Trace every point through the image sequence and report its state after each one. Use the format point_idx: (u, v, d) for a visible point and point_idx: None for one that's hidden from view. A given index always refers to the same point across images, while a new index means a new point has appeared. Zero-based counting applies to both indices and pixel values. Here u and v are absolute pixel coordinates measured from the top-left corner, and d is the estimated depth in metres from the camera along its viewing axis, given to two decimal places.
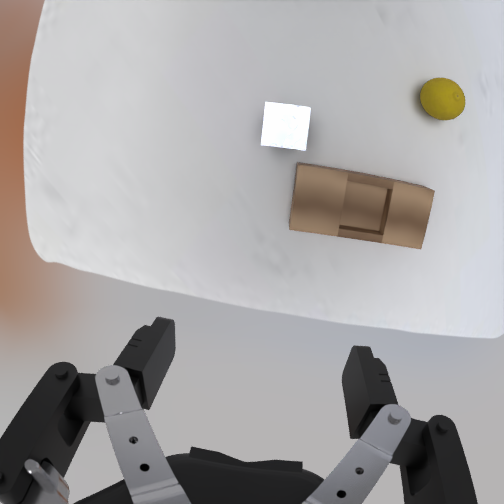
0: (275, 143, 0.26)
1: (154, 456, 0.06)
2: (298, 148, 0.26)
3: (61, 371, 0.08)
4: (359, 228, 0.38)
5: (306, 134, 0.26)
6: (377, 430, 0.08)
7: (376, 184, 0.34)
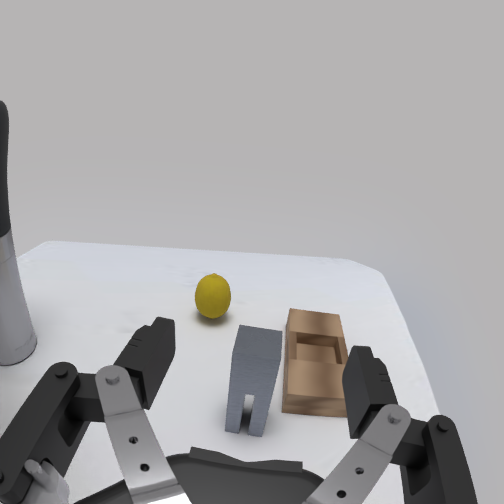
0: (278, 349, 0.25)
1: (154, 456, 0.06)
2: (281, 335, 0.27)
3: (61, 371, 0.08)
4: (336, 358, 0.40)
5: (266, 329, 0.28)
6: (377, 430, 0.08)
7: (295, 341, 0.40)
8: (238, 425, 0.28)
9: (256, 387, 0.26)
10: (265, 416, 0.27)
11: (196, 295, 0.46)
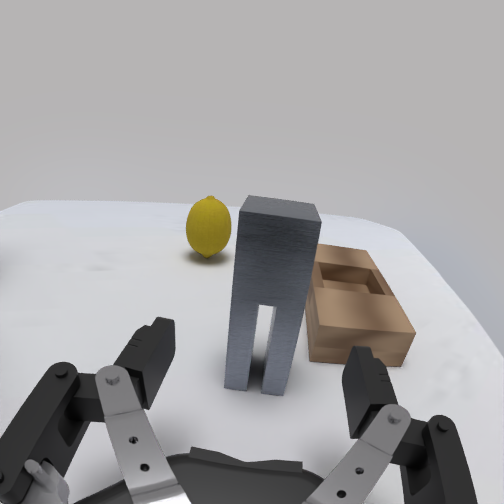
0: (313, 214, 0.16)
1: (154, 456, 0.06)
2: (313, 206, 0.18)
3: (61, 371, 0.08)
4: (373, 294, 0.30)
5: (290, 201, 0.18)
6: (377, 430, 0.08)
7: (318, 270, 0.30)
8: (246, 374, 0.19)
9: (279, 288, 0.16)
10: (291, 352, 0.18)
11: (187, 223, 0.36)
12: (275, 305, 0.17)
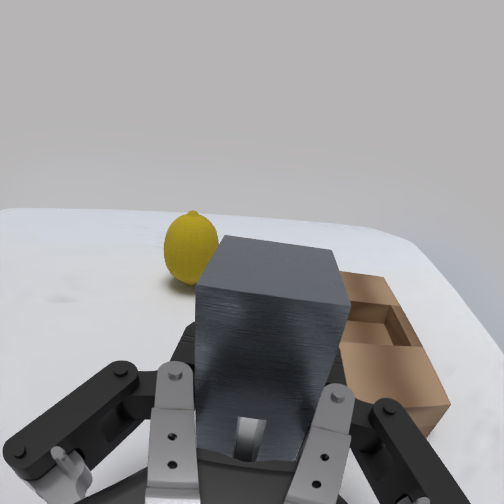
0: (334, 282, 0.09)
1: (186, 457, 0.06)
2: (331, 256, 0.11)
3: (120, 370, 0.09)
4: (393, 338, 0.23)
5: (292, 245, 0.11)
6: None
7: None
8: None
9: (270, 399, 0.09)
10: None
11: (165, 245, 0.29)
12: (264, 418, 0.09)
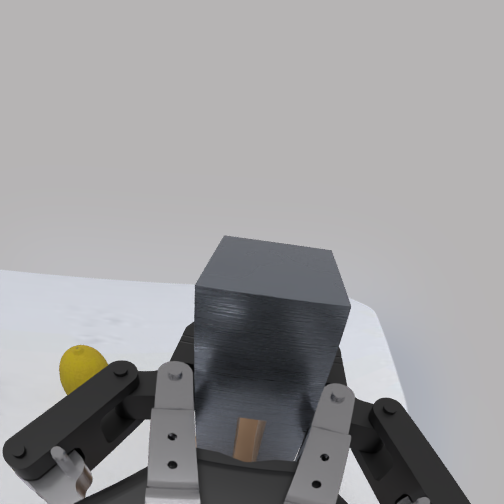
0: (334, 282, 0.09)
1: (186, 457, 0.06)
2: (330, 257, 0.11)
3: (120, 370, 0.09)
4: None
5: (292, 246, 0.11)
6: None
7: None
8: None
9: (270, 400, 0.09)
10: None
11: None
12: (264, 419, 0.09)
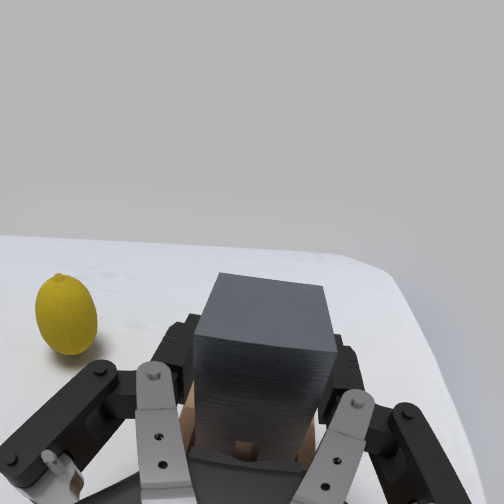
0: (323, 325, 0.09)
1: (175, 456, 0.06)
2: (321, 294, 0.11)
3: (100, 369, 0.09)
4: None
5: (284, 282, 0.12)
6: (338, 413, 0.09)
7: (187, 436, 0.15)
8: None
9: (264, 427, 0.10)
10: None
11: None
12: (259, 442, 0.10)
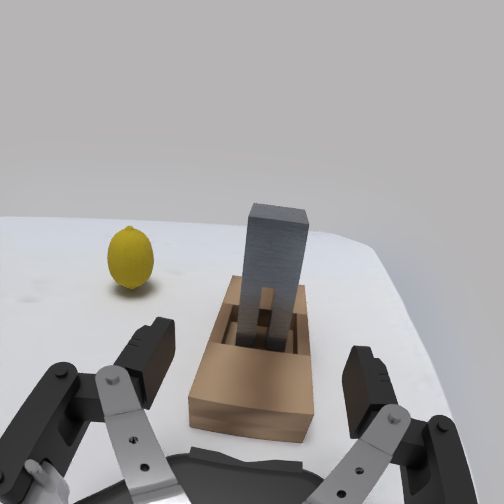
0: (303, 218, 0.21)
1: (154, 456, 0.06)
2: (304, 211, 0.23)
3: (61, 371, 0.08)
4: (293, 345, 0.26)
5: (286, 207, 0.24)
6: (377, 430, 0.08)
7: (227, 317, 0.27)
8: (252, 345, 0.24)
9: (277, 274, 0.22)
10: (288, 325, 0.23)
11: None
12: (275, 287, 0.22)
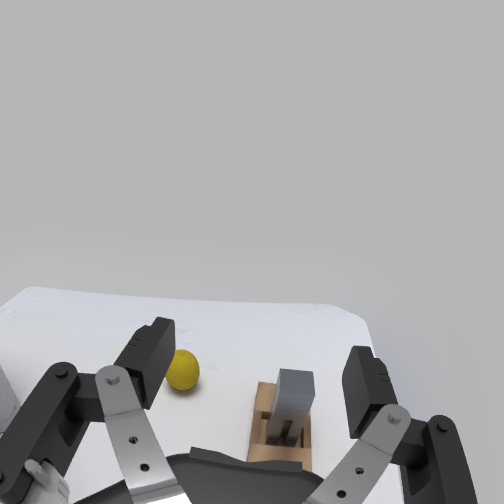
0: (311, 387, 0.32)
1: (154, 456, 0.06)
2: (312, 375, 0.34)
3: (61, 371, 0.08)
4: (301, 436, 0.37)
5: (301, 371, 0.35)
6: (377, 430, 0.08)
7: (259, 422, 0.38)
8: (276, 442, 0.35)
9: (294, 415, 0.32)
10: (298, 434, 0.34)
11: None
12: (292, 420, 0.33)
